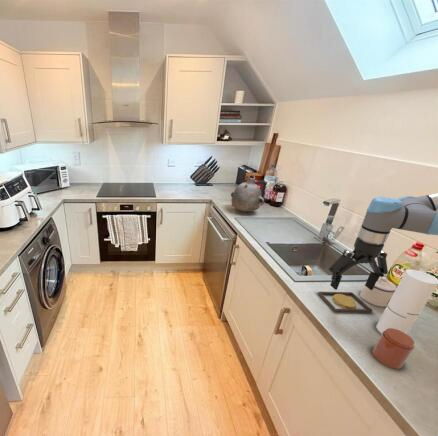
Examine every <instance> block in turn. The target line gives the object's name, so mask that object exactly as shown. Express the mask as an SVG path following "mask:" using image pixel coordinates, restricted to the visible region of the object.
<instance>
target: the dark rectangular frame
mask: <svg viewBox="0 0 438 436" xmlns="http://www.w3.org/2000/svg"><path fill="white" fill-rule="evenodd" d="M335 294H343V295H346V296H351V298H352V299H353V300H354V301H355V302H357V303H358V304H360V305H361V306H362V307H363V308H354V309H345V308H336V307H335V306H334V305H333V304H332V303H331V302H330V300H329V299H327V298H326V297H325V296H334V295H335ZM317 295H318V296H319V297H320V298H321V299H322V300H323V302H325V304H326V305H327V306H328V307H329V308H330V309H331V310H332V311H333V313H365V314H366V313H367V314H372V313H373V309H372V308H371V307H370V306H369V305H367V304H366V303H365V302H364V301H363V300H361V298H360V297H358V295H356V294H355V293H354V292H351V291H349V292H348V291H318V292H317Z"/></svg>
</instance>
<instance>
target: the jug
mask: <svg viewBox="0 0 438 436" xmlns="http://www.w3.org/2000/svg"><path fill="white" fill-rule="evenodd" d="M255 176H256V175H254V174H250V175H248V177H247V179H246V180H247V181H246V182H244V183H243V182H241V183H240V184H238V185H237V186H236V188H235V189H234V191H232V192H231V194H230V197H231V206H232V208H234V209H236V210H240V211H242V212H243V213H244V212H250V211H251V212H252V211H257V210H259V208H261V207H260V206H263V205H264V203H265V198H262V195H261V190H260V188H259V186H258V185H256V184H255V180H256V177H255ZM261 200H262V203H261Z"/></svg>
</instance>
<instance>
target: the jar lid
mask: <svg viewBox="0 0 438 436" xmlns="http://www.w3.org/2000/svg"><path fill="white" fill-rule="evenodd" d="M332 302H333V303H334V304H335V305H336V306H338V307H340V308H341V309H356V308H357V301H356V300H355V299H354V298H353V297H350V296H349V295H343V294H335V295H332Z"/></svg>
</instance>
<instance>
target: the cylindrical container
mask: <svg viewBox="0 0 438 436" xmlns="http://www.w3.org/2000/svg"><path fill="white" fill-rule="evenodd" d="M437 287H438V278H437V277H435V276H434V275H432V274H430V273H427V272H424V271H421V270H417V269H406V270H405V271H404V273H403V274H402V277H401V278H400V281H399V283H398V284H397V286H396V290H395V292H394V294H393V296H392V298H391V299H390V301H389V303H388V305H387V306H385V309H384V311H383V312H382V314H381V316H380V318H379V320H378V322H377V323H376V326H375V327H376V329H377V331H378V332H379V333H380V334H382V333H383V332H384V331H385V330H386V329H389V328H392V329H397V330H399V331H402V332H404V333H405V334H407V335H408V334H409V332H410V330H411V328H412V327H413V326H414V324H415V322H416V320H418V317H419V315H420V314H421V312H422V311H423V310H424V308H425V306H426V305H427V303H428V301H429V299H430V298H431V296H432V295H433V293H434V292H435V290H436V288H437Z"/></svg>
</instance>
